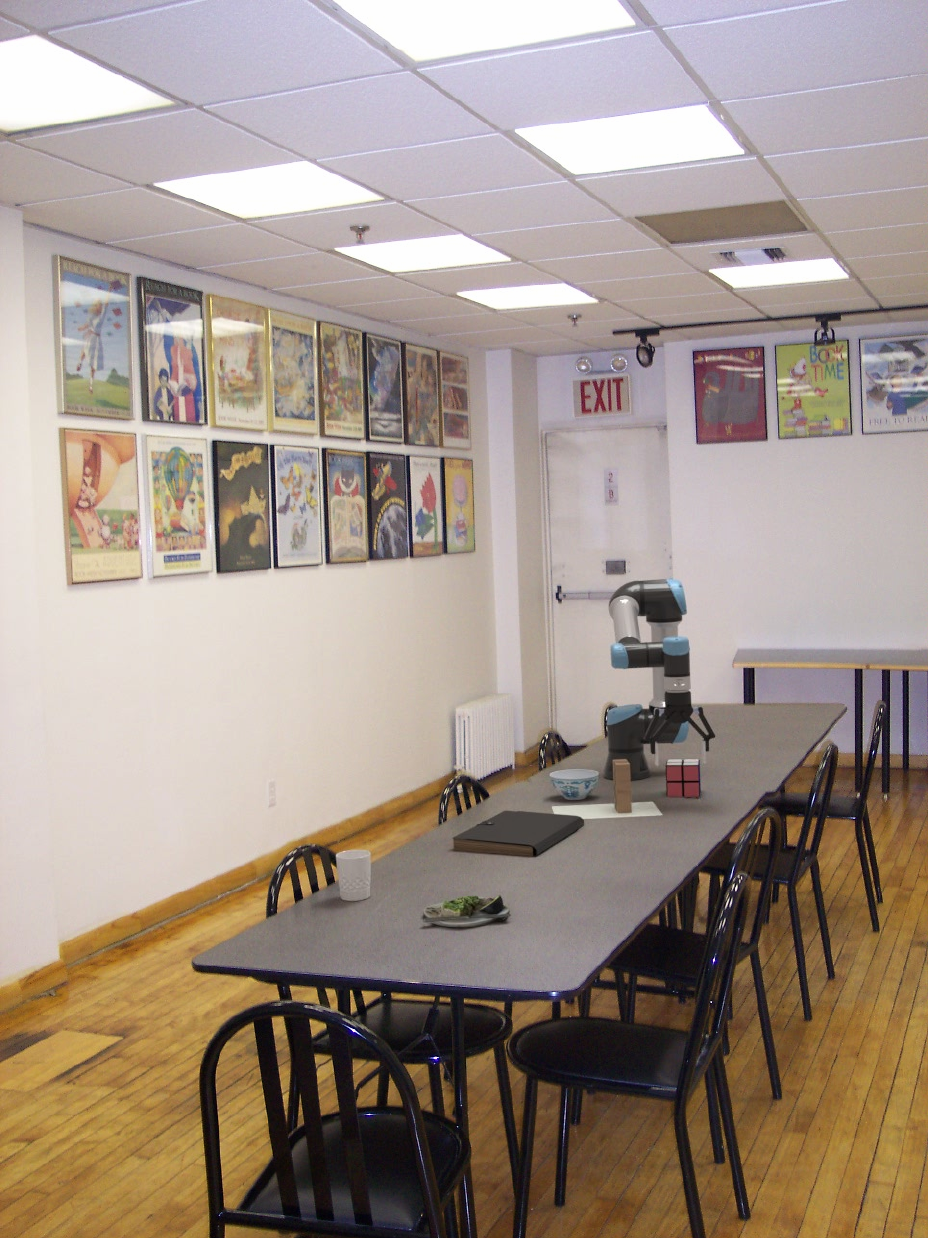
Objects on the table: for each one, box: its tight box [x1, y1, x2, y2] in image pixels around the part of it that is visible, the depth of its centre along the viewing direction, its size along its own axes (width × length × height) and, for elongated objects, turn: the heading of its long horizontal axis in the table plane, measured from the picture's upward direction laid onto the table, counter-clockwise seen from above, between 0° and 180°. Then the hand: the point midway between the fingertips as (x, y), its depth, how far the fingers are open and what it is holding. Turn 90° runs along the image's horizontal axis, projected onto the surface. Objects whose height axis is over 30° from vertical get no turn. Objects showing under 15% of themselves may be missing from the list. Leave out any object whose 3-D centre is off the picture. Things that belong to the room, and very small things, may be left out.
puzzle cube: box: [665, 758, 702, 798], centre depth 373 cm, size 10×10×10 cm
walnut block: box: [612, 759, 633, 813], centre depth 354 cm, size 8×4×14 cm, turn 0°
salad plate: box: [422, 894, 512, 929], centre depth 261 cm, size 19×18×5 cm
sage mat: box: [551, 801, 663, 820], centre depth 354 cm, size 18×30×1 cm, turn 90°
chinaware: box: [549, 768, 600, 801], centre depth 374 cm, size 15×15×8 cm
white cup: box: [335, 849, 372, 902], centre depth 280 cm, size 8×8×10 cm
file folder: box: [452, 810, 585, 858], centre depth 328 cm, size 33×4×24 cm
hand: (680, 764), depth 353 cm, fingers open, 13 cm apart
